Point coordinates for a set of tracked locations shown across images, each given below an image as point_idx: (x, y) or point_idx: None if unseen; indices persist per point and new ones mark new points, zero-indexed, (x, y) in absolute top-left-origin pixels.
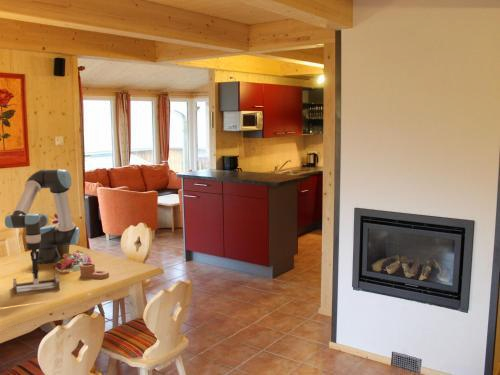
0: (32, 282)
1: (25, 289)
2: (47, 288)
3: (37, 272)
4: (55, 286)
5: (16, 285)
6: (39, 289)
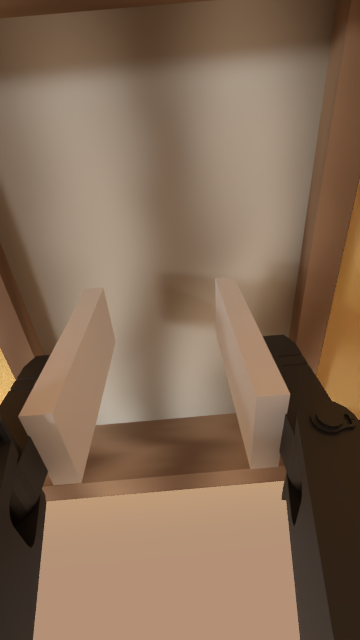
0: (25, 336)
1: (191, 367)
2: (352, 149)
3: (340, 415)
4: (220, 11)
5: (160, 448)
6: (329, 252)
